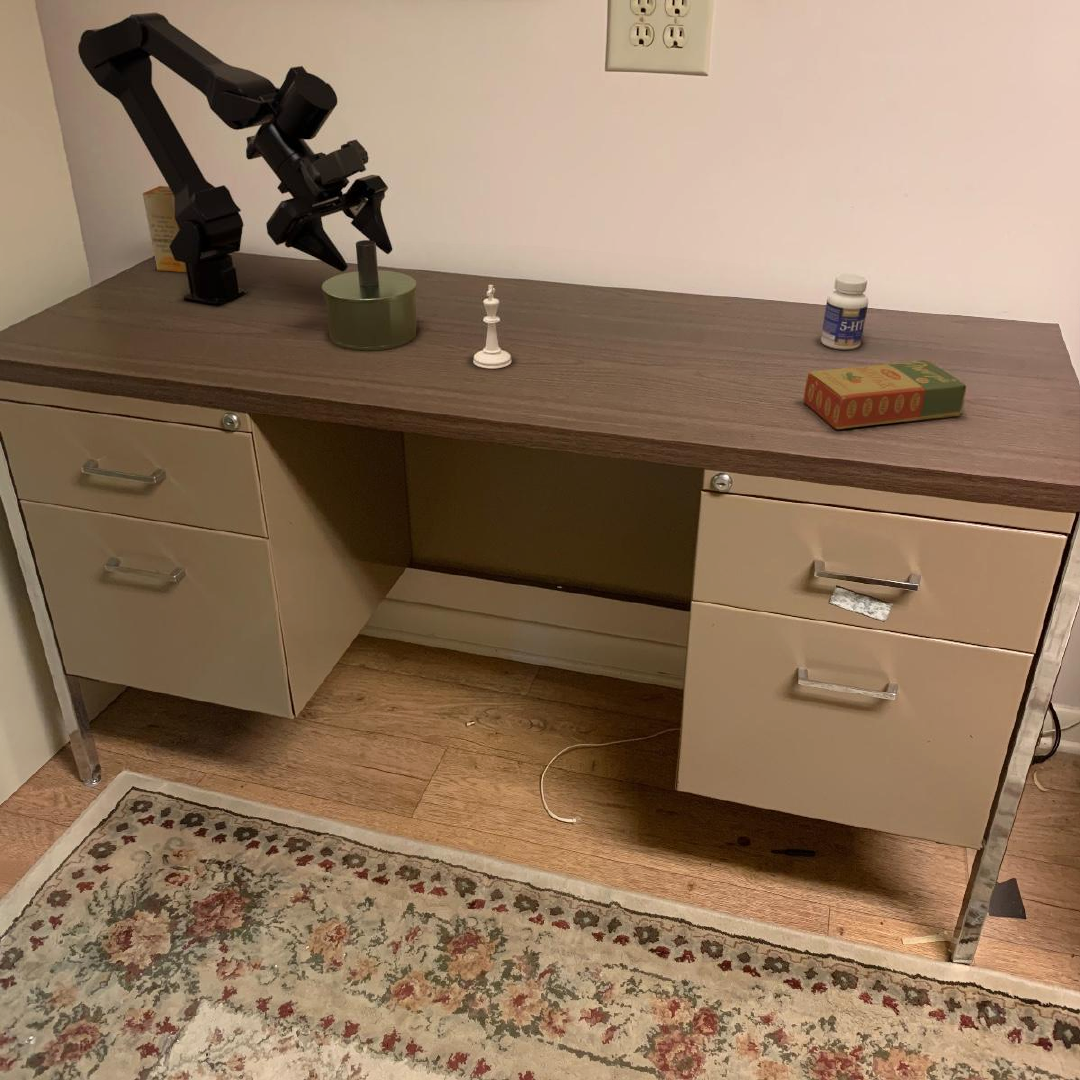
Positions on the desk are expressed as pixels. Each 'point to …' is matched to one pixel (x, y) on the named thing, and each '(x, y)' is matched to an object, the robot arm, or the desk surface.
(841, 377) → the carton
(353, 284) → the lid
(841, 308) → the pill bottle
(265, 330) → the desk surface
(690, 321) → the desk surface
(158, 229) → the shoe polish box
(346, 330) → the tin
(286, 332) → the desk surface
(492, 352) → the chess piece
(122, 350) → the desk surface
